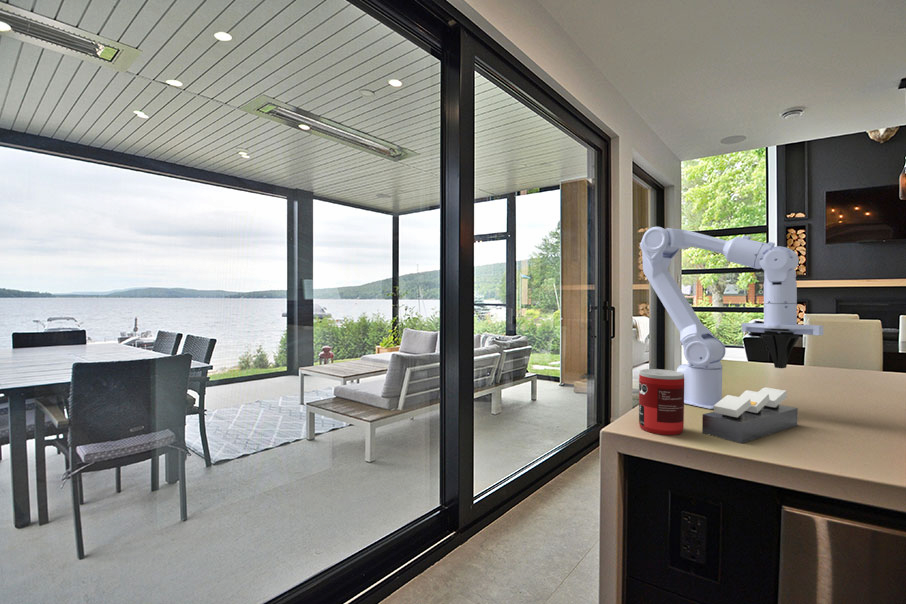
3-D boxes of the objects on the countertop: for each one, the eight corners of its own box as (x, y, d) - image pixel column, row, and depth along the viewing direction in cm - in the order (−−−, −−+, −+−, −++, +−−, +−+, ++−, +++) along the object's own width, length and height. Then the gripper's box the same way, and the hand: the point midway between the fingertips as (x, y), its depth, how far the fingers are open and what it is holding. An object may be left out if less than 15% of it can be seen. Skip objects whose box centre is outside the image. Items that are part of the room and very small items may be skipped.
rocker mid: (734, 408, 89) (733, 401, 89) (747, 396, 92) (746, 389, 91) (757, 413, 86) (755, 405, 85) (769, 400, 88) (768, 393, 88)
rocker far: (753, 403, 93) (752, 396, 92) (764, 393, 95) (764, 387, 95) (775, 407, 89) (774, 400, 89) (786, 397, 92) (786, 390, 92)
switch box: (702, 433, 86) (702, 410, 86) (772, 413, 100) (772, 393, 100) (741, 443, 80) (742, 418, 80) (810, 421, 94) (811, 400, 94)
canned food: (648, 421, 94) (648, 367, 94) (690, 429, 88) (690, 372, 88) (631, 429, 89) (632, 372, 88) (674, 438, 83) (675, 377, 83)
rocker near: (714, 412, 85) (713, 405, 85) (728, 401, 88) (727, 394, 88) (737, 417, 82) (736, 410, 82) (751, 406, 84) (750, 399, 84)
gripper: (734, 303, 102) (734, 365, 102) (812, 303, 89) (812, 373, 89) (750, 303, 105) (751, 362, 105) (827, 303, 93) (828, 370, 93)
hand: (780, 367), depth 98 cm, fingers closed
